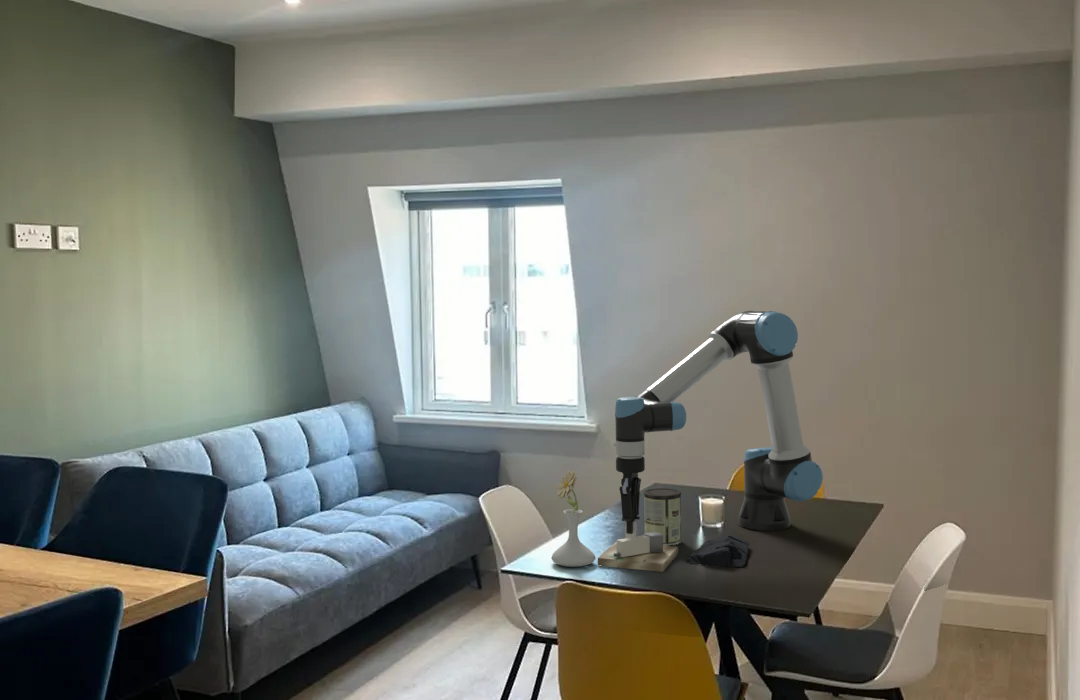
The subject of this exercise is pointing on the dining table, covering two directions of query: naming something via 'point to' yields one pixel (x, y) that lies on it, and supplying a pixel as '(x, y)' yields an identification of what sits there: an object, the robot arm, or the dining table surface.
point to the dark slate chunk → (721, 552)
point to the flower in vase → (572, 530)
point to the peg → (639, 545)
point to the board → (639, 559)
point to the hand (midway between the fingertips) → (631, 544)
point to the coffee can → (663, 514)
